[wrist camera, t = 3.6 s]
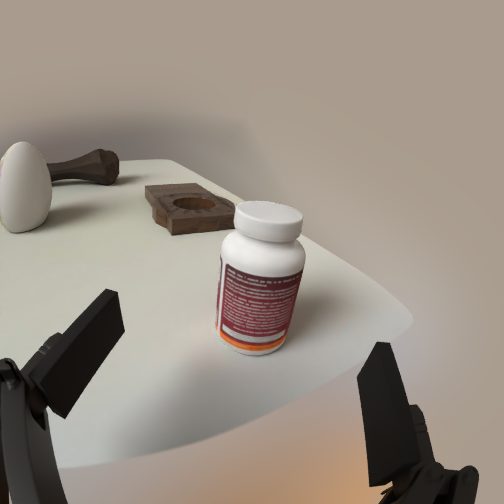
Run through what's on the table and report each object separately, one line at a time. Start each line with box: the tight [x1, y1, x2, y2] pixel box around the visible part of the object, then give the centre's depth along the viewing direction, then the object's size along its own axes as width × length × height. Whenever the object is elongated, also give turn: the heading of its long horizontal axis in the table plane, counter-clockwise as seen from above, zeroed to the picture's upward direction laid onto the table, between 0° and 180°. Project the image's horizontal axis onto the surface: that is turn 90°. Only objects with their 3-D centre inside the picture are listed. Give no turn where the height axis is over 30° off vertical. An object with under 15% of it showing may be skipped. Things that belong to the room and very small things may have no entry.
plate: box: [145, 183, 236, 235], centre depth 50 cm, size 22×14×2 cm, turn 31°
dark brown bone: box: [46, 149, 119, 185], centre depth 59 cm, size 11×10×28 cm
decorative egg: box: [0, 142, 52, 233], centre depth 33 cm, size 12×12×15 cm
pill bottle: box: [216, 201, 306, 356], centre depth 21 cm, size 6×6×11 cm
